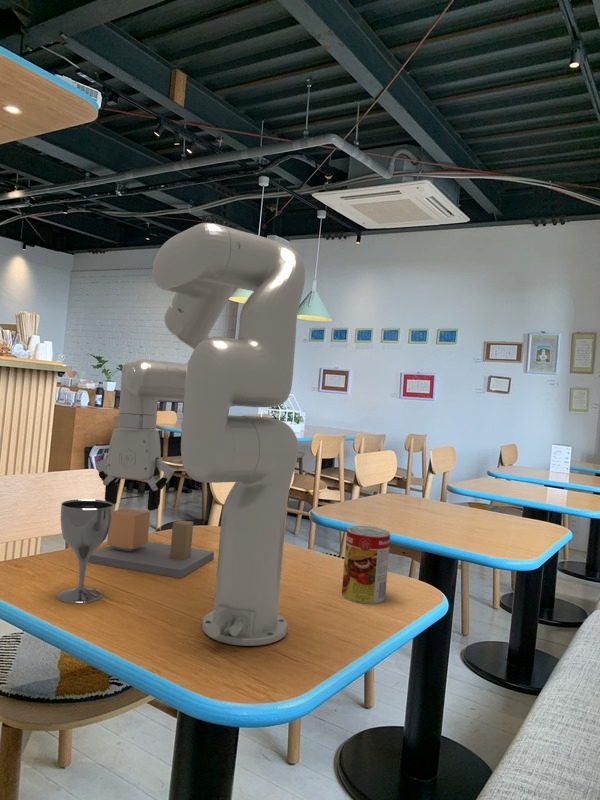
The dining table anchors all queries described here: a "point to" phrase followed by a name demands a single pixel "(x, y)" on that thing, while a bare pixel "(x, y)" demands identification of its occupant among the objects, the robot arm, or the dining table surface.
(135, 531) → the tan cardboard box
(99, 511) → the wine glass
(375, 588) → the canned food
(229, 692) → the dining table surface
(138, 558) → the post stand
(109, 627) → the dining table surface
